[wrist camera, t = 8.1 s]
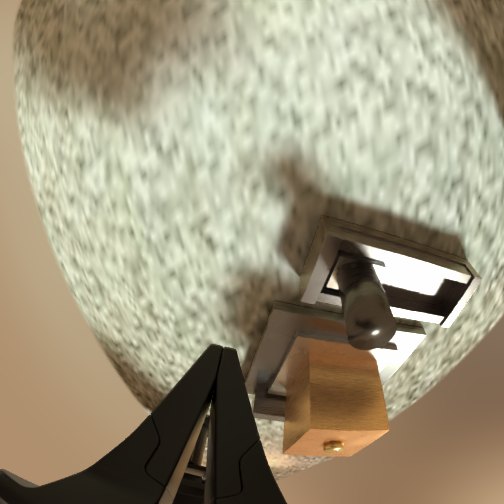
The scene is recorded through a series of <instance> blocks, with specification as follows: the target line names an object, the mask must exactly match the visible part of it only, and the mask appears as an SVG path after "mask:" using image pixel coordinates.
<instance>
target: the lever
mask: <svg viewBox="0 0 504 504" xmlns="http://www.w3.org/2000/svg"><path fill="white" fill-rule="evenodd" d="M386 269H387V267H386V265H385V263H384V261H381V260H378V259H374V258H370V257H366V256H362V255H358V254H354V253H350V252H346V251H342V250H338V253H337V255H336V258H335V260H334V262H333V265H332V267H331V269H330V272H329V274H328V276H327V278H326V281H325V282H326V287H329V288H333V289H338V290H339V294H340V299H341V304H342V309H343V314H344V319H345V325H346V330H347V336H348V341H349V343H350V345H351V346H352V347H354V348H356V349H359V350H373V349H377V348H379V347H382V346H384V345H385V344H387V343H388V342H389V341H390V340H391V339H392V338H393V337H394V336H395V334H396V331H397V324H396V321H395V318H394V315H393V312H392V310H391V307H390V304H389V302H388V299H387V296H386V294H385V291H384V289H383V286H382V284H381V281H380V280H381V279H382V277H383V275H384V273H385V271H386Z"/></svg>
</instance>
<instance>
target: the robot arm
mask: <svg viewBox="0 0 504 504" xmlns="http://www.w3.org/2000/svg"><path fill="white" fill-rule="evenodd" d="M221 355H222V356H221ZM213 391H214V392H213ZM211 400H212V401H211ZM210 404H211V408H210V418H208V417H206V415H207V412H208V409H209V407H210ZM207 437H208V448H207V463H206V467H204V466H201V463H202V458H203V453H204V449H205V444H206V439H207ZM202 477H203V478H202ZM0 504H287V503H286V501H285V499H284V497H283V495H282V493H281V491H280V489H279V487H278V485H277V483H276V481H275V478H274V476H273V474H272V472H271V469H270V467H269V465H268V462H267V459H266V456H265V453H264V450H263V446H262V443H261V441H260V437H259V433H258V430H257V426H256V422H255V419H254V415H253V412H252V408H251V404H250V401H249V397H248V393H247V390H246V386H245V382H244V378H243V374H242V370H241V367H240V363H239V359H238V355H237V351H236V349H234V348H229V347H224V348H223V347H222V346H221V345H216V344H210V345H209V347H208V348H207V349H206V350H205V351H204V352H203V354H202V355H201V356H200V357H199V358H198V359H197V361H196V362H195V363H194V364H193V365H192V367H191V368H190V369H189V370H188V371H187V372H186V374H185V375H184V376H183V377H182V378H181V379H180V380H179V382H178V383H177V384H176V385H175V386H174V387H173V389H172V390H171V391H170V392H169V393H168V394H167V395H166V397H165V398H164V399H163V400H162V401H161V402H160V403H159V405H158V406H157V407H156V408H155V409H154V410H153V411H152V413H151V415H149V416H148V417H147V418H146V419H145V420H144V421H143V422H142V423H141V424H140V426H139V427H138V428H137V429H136V430H135V431H134V432H133V433H132V434H131V435H130V436H128V437H127V438H126V439H125V440H124V441H123V442H121V443H120V444H119V445H118V446H117V447H115V448H114V449H113V450H112V451H110V452H109V453H108V454H106V455H105V456H104V457H103V458H101V459H100V460H99V461H98V462H96V463H95V464H94V465H92V466H91V467H89V468H87V469H85V470H83V471H82V472H79V473H77V474H74V475H71V476H69V477H66V478H64V479H60V480H57V481H55V482H51V483H48V484H45V485H42V486H38V485H36V484H33V483H31V482H29V481H27V480H25V479H23V478H21V477H18V476H17V475H15V474H13V473H10V472H9V471H6V470H4V469H0Z"/></svg>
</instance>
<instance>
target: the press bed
mask: <svg viewBox="0 0 504 504" xmlns="http://www.w3.org/2000/svg"><path fill="white" fill-rule="evenodd" d="M425 336H426V333H425V331H424V328H422V327H416V326H409V325H403V324H397V331H396V334H395V336H394V337H393V338H392V339H391V340H390V341H389V342H388V343H387V344H385V345H384V346H382V347H379V348H377V349H373V350H359V349H356V348H354V347H352V346H351V345H350V343H349V341H348V336H347V330H346V325H345V319H344V314H339V313H334V312H329V311H323V310H318V309H313V308H308V307H303V306H298V305H293V304H289V303H284V302H279V301H274V303H273V306H272V309H271V312H270V315H269V317H268V320H267V323H266V326H265V329H264V331H263V334H262V337H261V340H260V342H259V345H258V348H257V351H256V353H255V356H254V359H253V361H252V364H251V367H250V369H249V372H248V375H247V377H246V380H245V386H246V390H247V393H249V394H253V401H252V412H253V415H254V418H261V419H267V420H274V421H282V422H284V421H285V402H286V388H287V387H288V385H289V383H290V382H291V380H292V379H293V377H294V375H295V374H296V372H297V370H298V369H299V367H300V365H301V364H302V362H303V360H304V358H305V357H306V355H307V353H308V351H313V352H320V353H326V354H333V355H341V356H348V357H356V358H365V359H374V360H377V364H378V369H379V374H380V379H381V383H382V385H383V384H384V383H385V382H386V381H387V380H388V379H389V378H390V377H391V376H392V375H393V374H394V373H395V372H396V371H397V369H398V368H399V367H400V366H401V365H402V364H403V363H404V362H405V360H406V359H407V358H408V357H409V356H410V355H411V353H412V352H413V351H414V350H415V349H416V347H417V346H418V345H419V344H420V342H421V341H422V340H423V339H424V337H425Z"/></svg>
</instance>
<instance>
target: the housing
mask: <svg viewBox="0 0 504 504" xmlns="http://www.w3.org/2000/svg"><path fill="white" fill-rule="evenodd" d="M389 430H390V429H389V423H388V416H387V410H386V405H385V399H384V394H383V389H382V383H381V379H380V374H379V369H378V364H377V360H374V359H365V358H356V357H348V356H341V355H333V354H326V353H320V352H313V351H308V353H307V355H306V357H305V358H304V360H303V362H302V364H301V365H300V367H299V369H298V370H297V372H296V374H295V375H294V377H293V379H292V380H291V382H290V383H289V385H288V387H287V388H286V402H285V421H284V438H283V454H288V455H303V456H351V455H353V454H355V453H356V452H358V451H359V450H361V449H362V448H364V447H366V446H367V445H369V444H370V443H372V442H373V441H375V440H376V439H378V438H379V437H380V436H382V435H383V434H385V433H386V432H388V431H389Z"/></svg>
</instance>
